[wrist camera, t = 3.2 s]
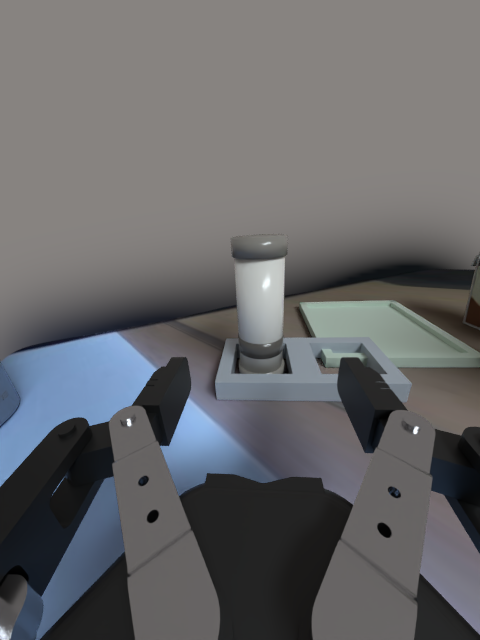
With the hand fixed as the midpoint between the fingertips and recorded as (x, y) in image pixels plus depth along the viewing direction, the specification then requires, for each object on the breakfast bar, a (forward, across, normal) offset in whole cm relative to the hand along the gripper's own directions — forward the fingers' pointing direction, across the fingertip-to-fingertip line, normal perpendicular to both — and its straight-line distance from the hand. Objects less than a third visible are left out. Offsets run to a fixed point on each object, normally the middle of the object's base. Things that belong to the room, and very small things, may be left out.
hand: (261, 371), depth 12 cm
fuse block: (+11, -4, +8) cm, 14 cm away
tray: (+21, -15, +8) cm, 27 cm away
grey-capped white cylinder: (+11, 0, +8) cm, 13 cm away
